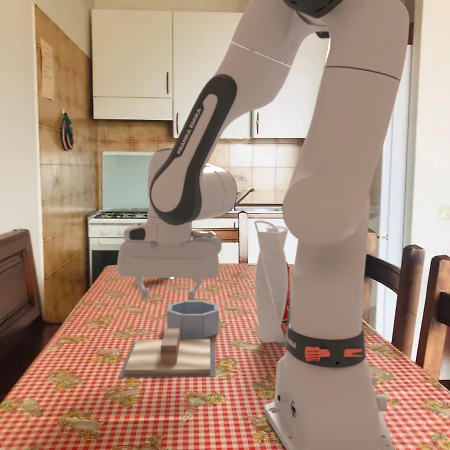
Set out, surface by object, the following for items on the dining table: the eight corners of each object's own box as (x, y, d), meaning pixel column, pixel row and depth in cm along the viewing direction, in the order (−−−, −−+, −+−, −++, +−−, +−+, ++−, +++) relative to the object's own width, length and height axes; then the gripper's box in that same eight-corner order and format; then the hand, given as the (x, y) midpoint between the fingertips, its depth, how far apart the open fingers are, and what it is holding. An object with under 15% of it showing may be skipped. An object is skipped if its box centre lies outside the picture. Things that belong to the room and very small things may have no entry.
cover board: (210, 374, 91) (210, 351, 90) (124, 374, 90) (124, 351, 90) (210, 343, 107) (210, 323, 106) (137, 343, 106) (136, 324, 106)
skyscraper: (259, 350, 105) (261, 222, 102) (248, 337, 113) (249, 218, 110) (295, 346, 108) (298, 221, 104) (281, 334, 115) (284, 217, 112)
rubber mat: (215, 378, 90) (215, 376, 90) (118, 379, 89) (118, 377, 89) (214, 344, 108) (214, 341, 108) (133, 344, 107) (133, 342, 107)
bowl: (218, 340, 110) (218, 315, 109) (165, 341, 109) (165, 315, 109) (217, 323, 122) (217, 300, 121) (170, 324, 121) (169, 300, 121)
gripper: (221, 229, 99) (219, 295, 101) (121, 227, 98) (121, 293, 100) (222, 234, 93) (220, 304, 95) (115, 231, 92) (115, 301, 94)
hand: (168, 298), depth 97 cm, fingers open, 8 cm apart
